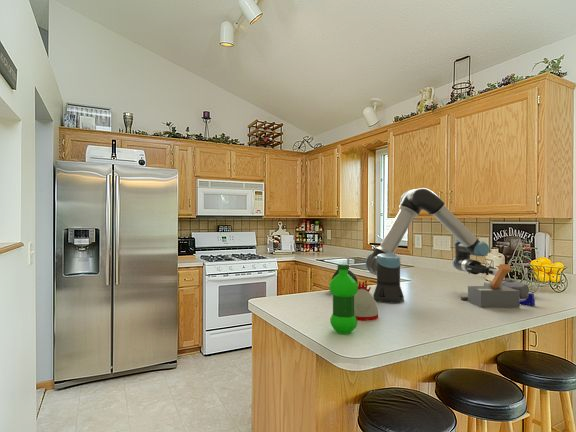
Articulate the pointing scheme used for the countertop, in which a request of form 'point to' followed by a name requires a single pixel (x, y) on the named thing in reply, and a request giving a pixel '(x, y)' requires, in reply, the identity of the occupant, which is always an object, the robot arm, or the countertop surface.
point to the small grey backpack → (516, 287)
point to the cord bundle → (464, 298)
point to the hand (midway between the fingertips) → (498, 273)
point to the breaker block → (493, 296)
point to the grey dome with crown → (364, 304)
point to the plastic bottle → (343, 301)
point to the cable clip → (528, 300)
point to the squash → (348, 273)
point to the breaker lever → (500, 275)
